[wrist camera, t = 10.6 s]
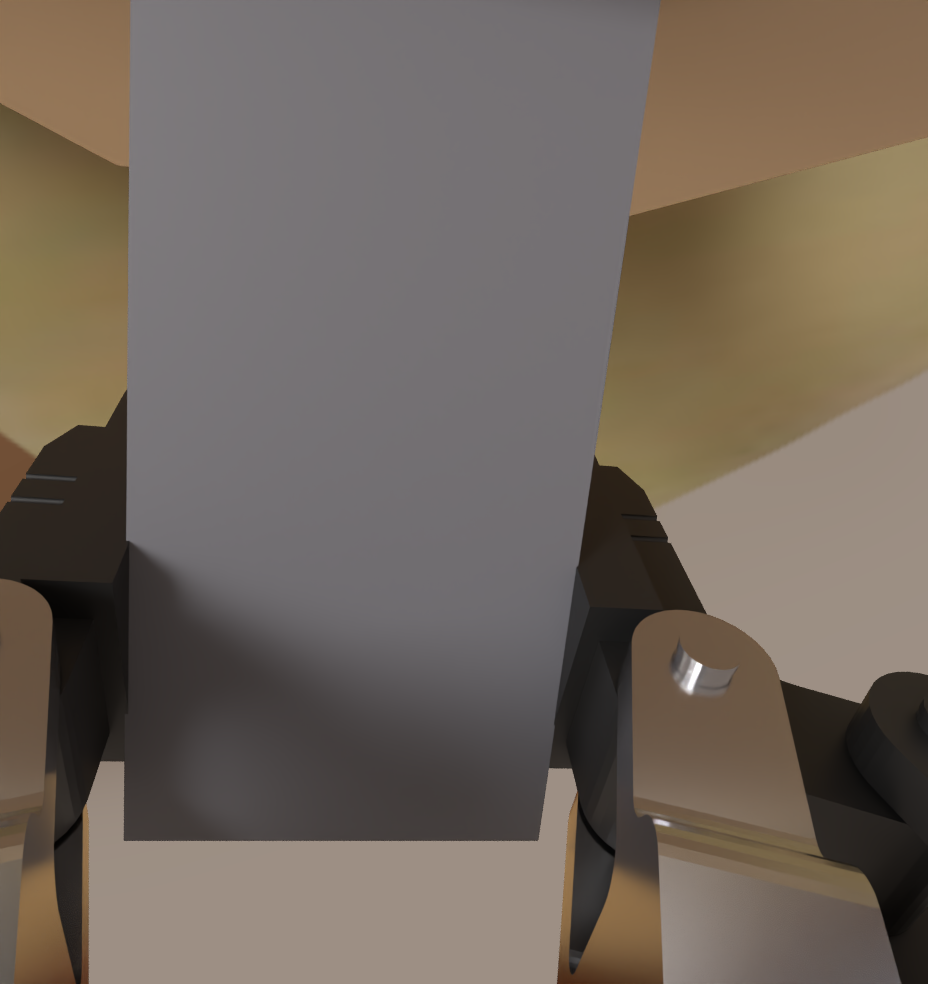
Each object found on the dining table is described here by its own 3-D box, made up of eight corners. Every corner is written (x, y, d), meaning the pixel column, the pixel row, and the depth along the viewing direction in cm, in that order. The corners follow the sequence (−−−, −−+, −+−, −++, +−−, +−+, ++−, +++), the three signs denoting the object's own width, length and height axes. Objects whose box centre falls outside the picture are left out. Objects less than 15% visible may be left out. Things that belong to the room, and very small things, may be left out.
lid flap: (-1076, -652, 4) (-665, 922, 6) (1379, -89, 6) (1057, 899, 8) (116, 135, 23) (115, 436, 25) (596, 199, 25) (559, 470, 27)
